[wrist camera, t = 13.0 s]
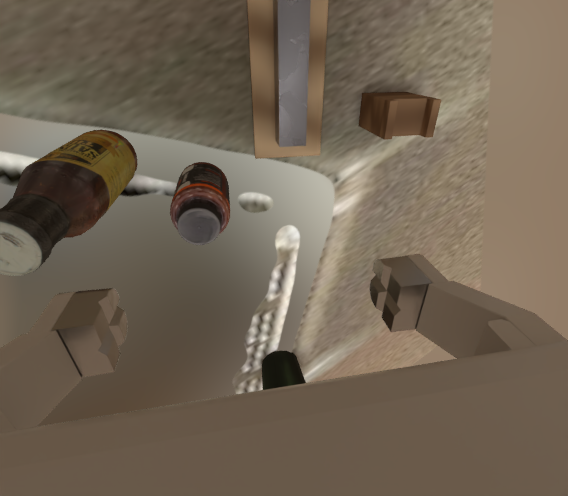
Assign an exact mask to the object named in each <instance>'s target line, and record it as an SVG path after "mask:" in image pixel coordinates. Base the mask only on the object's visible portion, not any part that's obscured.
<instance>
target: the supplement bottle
mask: <svg viewBox="0 0 568 496" xmlns="http://www.w3.org/2000/svg"><path fill="white" fill-rule="evenodd" d="M170 215H171V219H172V222H173V224H174V226H175V227H176V228H177V230H178V232H179V234H180V235H181V237H182V238H183V239H184V240H186V241H187V242H189V243H192V244H195V245H204V244H208V243H210V242H212V241H214V240H215V239H216V238H217V236H218V235H219V234H220V233H221V232H222V231H223V230H224V229H225V228H226V226H227V224H228V222H229V218H230V201H229V186H228V182H227V179H226V176H225V175H224V173H223V172H222V171H221V170H220V169H219V168H218V167H216V166H215V165H213V164H210V163H205V162H198V163H194V164H192V165H190V166H188V167H187V168H186V169H184V171H183V172H182V174H181V176H180V177H179V181H178V183H177V187H176V190H175V193H174V197H173V200H172V203H171V209H170Z"/></svg>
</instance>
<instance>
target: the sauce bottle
mask: <svg viewBox="0 0 568 496" xmlns="http://www.w3.org/2000/svg"><path fill="white" fill-rule="evenodd" d="M136 169H137V156H136V153H135V150H134V148H133V146H132V145H131V144H130V143H129V142H128V140H127V139H126V138H124V137H123V136H121V135H119V134H118V133H115V132H112V131H107V130H94V131H90V132H86V133H84V134H82V135H80V136H78V137H77V138H75V139H73V140H72V141H70V142H68V143H66V144H65V145H63V146H61V147H59V148H58V149H56V150H54V151H52V152H50V153H49V154H47V155H46V156H44V157H42V158H41V159H39V160H37V161H35V162H33V163H32V164H30V165H29V166H27V167H26V168H25V169H24V170H23V172H22V174H21V178H20V181H19V183H18V186H17V188H16V191H15V193H14V196H13V198H12V199H11V200H10V201H9V202H8V204H7V205H5V206H4V207H3V208H1V209H0V274H5V275H13V276H14V275H15V276H20V275H25V274H28V273H31V272H33V271H35V270H37V269H38V268H39V267H40V266H41V265H42V264H43V263H44V262H45V260H46V259H47V258H48V257H49V255H50V253H51V250H52V248H53V247H54V245H55V244H56V243H57V242H58V241H60V240H61V239H63V238H65V237H74V236H78V235H81V234H83V233H84V232H86V231H87V230H89V229H90V228H91V227H93V226H94V225H95V224H96V222H97V221H98V220H99V218H101V217H102V216H103V215H104V214H105V213H106V211H107V210H108V209H109V207H110V206H111V205H112V204H113V203H114V201H115V200H116V199H117V197H118V196H119V195H120V194H121V192H122V191H123V190H124V188H125V187H126V186H127V184H128V183H129V182H130V181H131V179H132V178H133V176H134V173H135V171H136Z"/></svg>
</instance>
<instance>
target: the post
mask: <svg viewBox="0 0 568 496" xmlns="http://www.w3.org/2000/svg"><path fill="white" fill-rule="evenodd" d="M440 103H441V99H436V98H431V97H427V96H422V95H417V94H413V93H408V92H387V93H362V101H361V110H360V119H359V126H360V127H362V128H364V129H366V130H368V131H369V132H371V133H373V134H375V135H377V136H379V137H381V138H383V139H392V136H408V135H421V136H423V137H433V133H434V129H435V125H436V121H437V116H438V112H439V108H440Z"/></svg>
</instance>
